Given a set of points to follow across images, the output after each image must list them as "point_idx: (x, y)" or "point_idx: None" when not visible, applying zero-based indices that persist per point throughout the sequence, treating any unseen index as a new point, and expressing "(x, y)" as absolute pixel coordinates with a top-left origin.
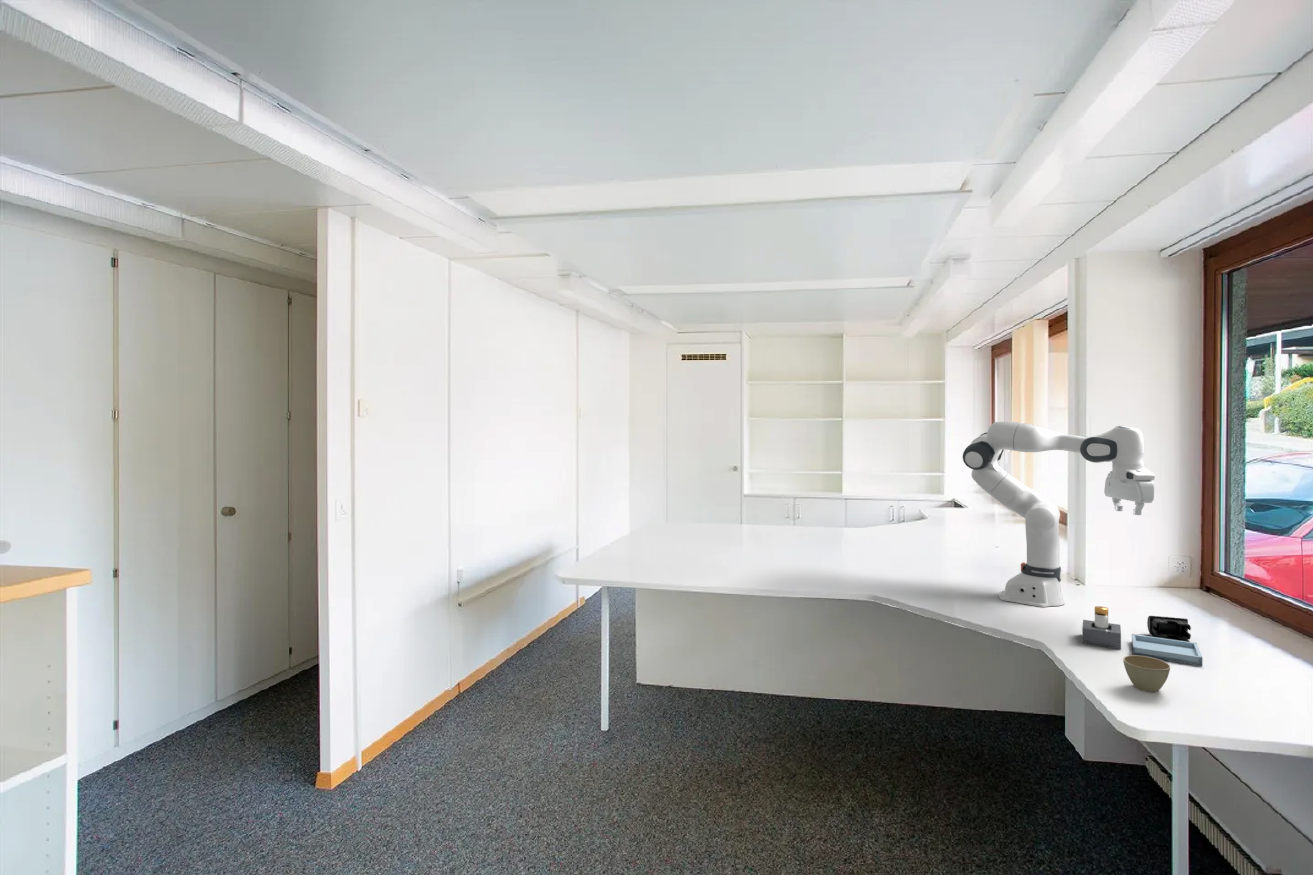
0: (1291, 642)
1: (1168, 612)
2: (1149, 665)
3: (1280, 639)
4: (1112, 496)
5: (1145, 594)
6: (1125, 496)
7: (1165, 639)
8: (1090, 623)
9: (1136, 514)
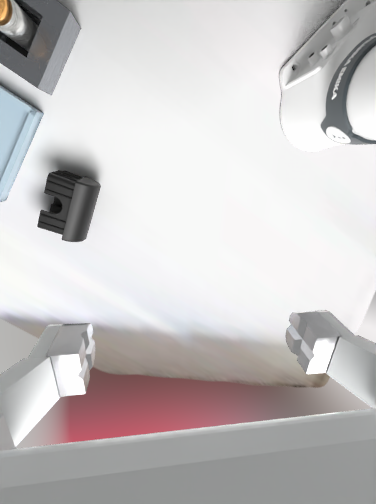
0: None
1: (217, 289)
2: None
3: None
4: None
5: None
6: (161, 501)
7: (10, 159)
8: (36, 6)
9: (50, 327)
